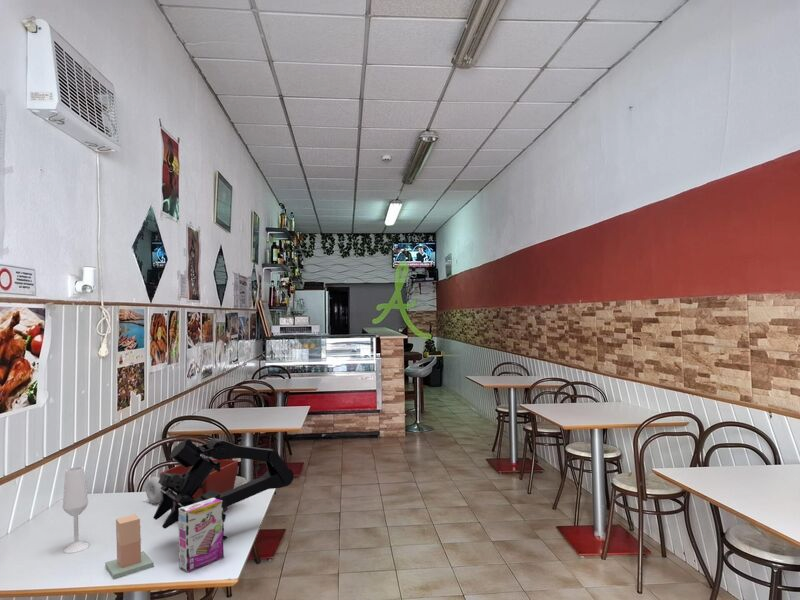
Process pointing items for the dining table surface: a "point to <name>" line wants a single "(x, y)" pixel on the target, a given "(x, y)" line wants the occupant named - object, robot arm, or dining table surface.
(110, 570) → the base plate
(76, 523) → the champagne flute
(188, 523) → the candy bar box
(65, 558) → the dining table surface
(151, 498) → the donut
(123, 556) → the peach rectangular block
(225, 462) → the plant pot
